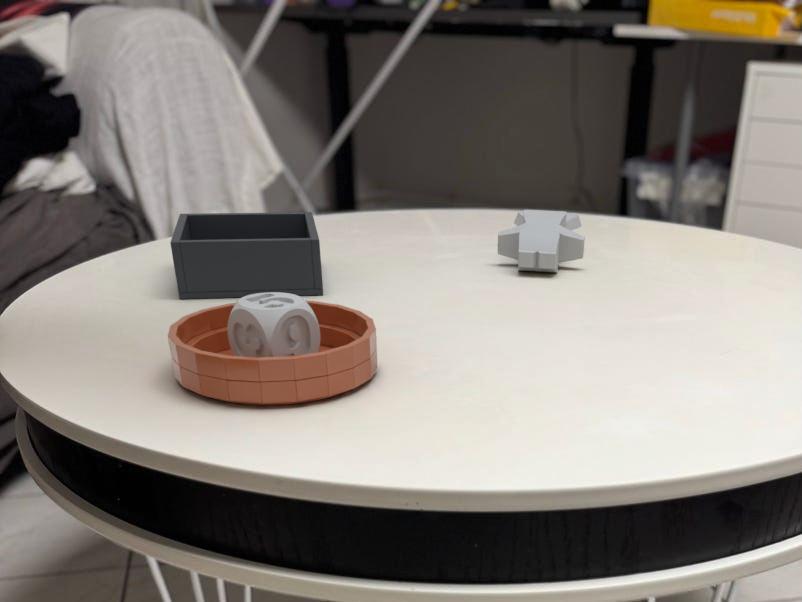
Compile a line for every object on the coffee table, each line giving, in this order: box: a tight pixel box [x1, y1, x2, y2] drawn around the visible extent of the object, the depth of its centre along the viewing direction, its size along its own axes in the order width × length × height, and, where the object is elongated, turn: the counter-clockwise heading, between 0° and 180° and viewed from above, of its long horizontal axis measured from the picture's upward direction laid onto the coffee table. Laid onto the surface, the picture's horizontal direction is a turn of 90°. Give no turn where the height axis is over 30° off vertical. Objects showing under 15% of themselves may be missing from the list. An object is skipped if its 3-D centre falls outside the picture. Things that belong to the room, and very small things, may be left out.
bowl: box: [167, 300, 379, 406], centre depth 69 cm, size 15×15×4 cm
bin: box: [170, 211, 324, 300], centre depth 92 cm, size 14×14×5 cm
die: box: [227, 292, 320, 357], centre depth 69 cm, size 5×5×5 cm
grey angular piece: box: [497, 209, 586, 274], centre depth 101 cm, size 10×5×15 cm
